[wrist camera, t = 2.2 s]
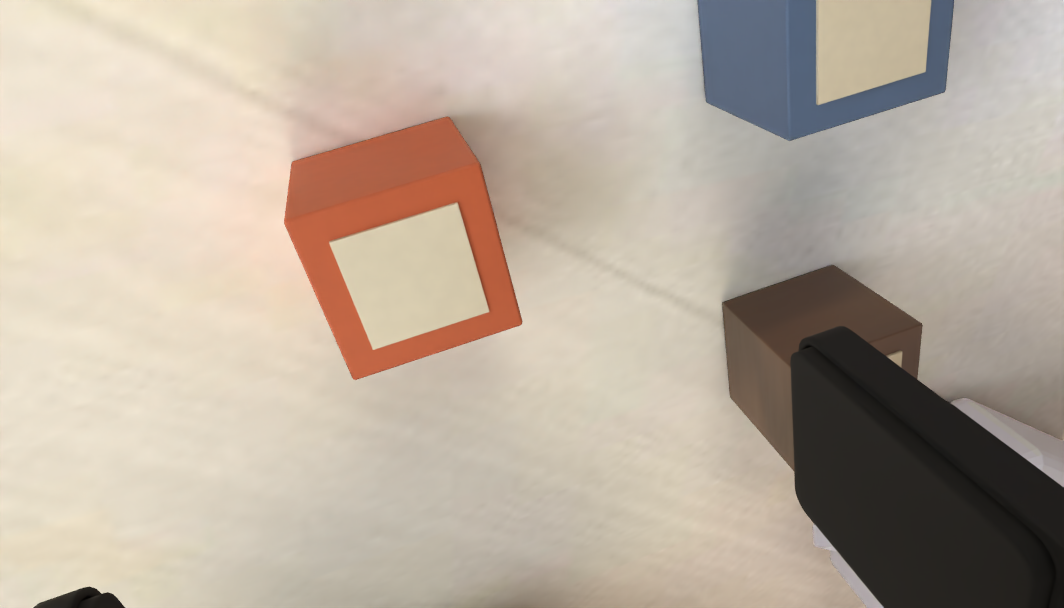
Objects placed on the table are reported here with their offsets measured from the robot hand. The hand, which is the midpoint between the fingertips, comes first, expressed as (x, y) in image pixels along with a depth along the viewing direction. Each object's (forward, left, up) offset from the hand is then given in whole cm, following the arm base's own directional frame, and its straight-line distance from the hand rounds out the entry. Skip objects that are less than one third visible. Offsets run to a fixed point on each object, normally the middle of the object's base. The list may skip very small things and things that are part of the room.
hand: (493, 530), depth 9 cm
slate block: (+2, +11, -12) cm, 16 cm away
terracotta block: (0, 0, -12) cm, 11 cm away
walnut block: (+12, +7, -12) cm, 18 cm away
